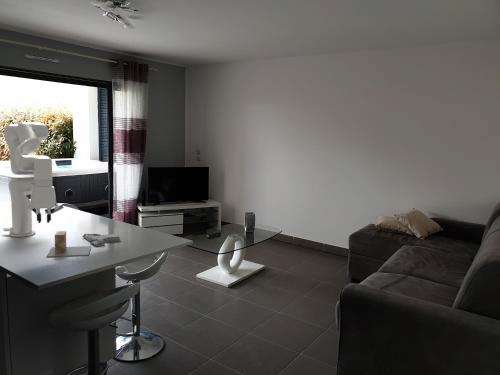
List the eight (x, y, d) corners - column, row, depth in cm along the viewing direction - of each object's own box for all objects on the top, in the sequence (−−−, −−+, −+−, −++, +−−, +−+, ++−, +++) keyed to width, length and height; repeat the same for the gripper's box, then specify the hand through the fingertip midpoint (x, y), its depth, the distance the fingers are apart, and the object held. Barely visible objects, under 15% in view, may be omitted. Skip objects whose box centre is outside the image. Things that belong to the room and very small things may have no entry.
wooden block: (54, 253, 181) (54, 235, 180) (57, 249, 188) (57, 231, 187) (64, 253, 183) (64, 234, 181) (66, 248, 189) (66, 231, 188)
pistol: (124, 237, 207) (94, 242, 196) (124, 243, 207) (94, 247, 197) (110, 229, 222) (81, 233, 211) (110, 234, 222) (81, 239, 211)
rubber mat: (46, 257, 177) (46, 256, 177) (52, 248, 190) (52, 247, 190) (88, 255, 183) (88, 254, 182) (91, 247, 196) (91, 246, 196)
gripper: (21, 184, 173) (22, 224, 175) (61, 185, 178) (61, 223, 180) (25, 182, 180) (26, 220, 182) (63, 182, 185) (64, 220, 187)
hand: (44, 221), depth 181 cm, fingers open, 3 cm apart
